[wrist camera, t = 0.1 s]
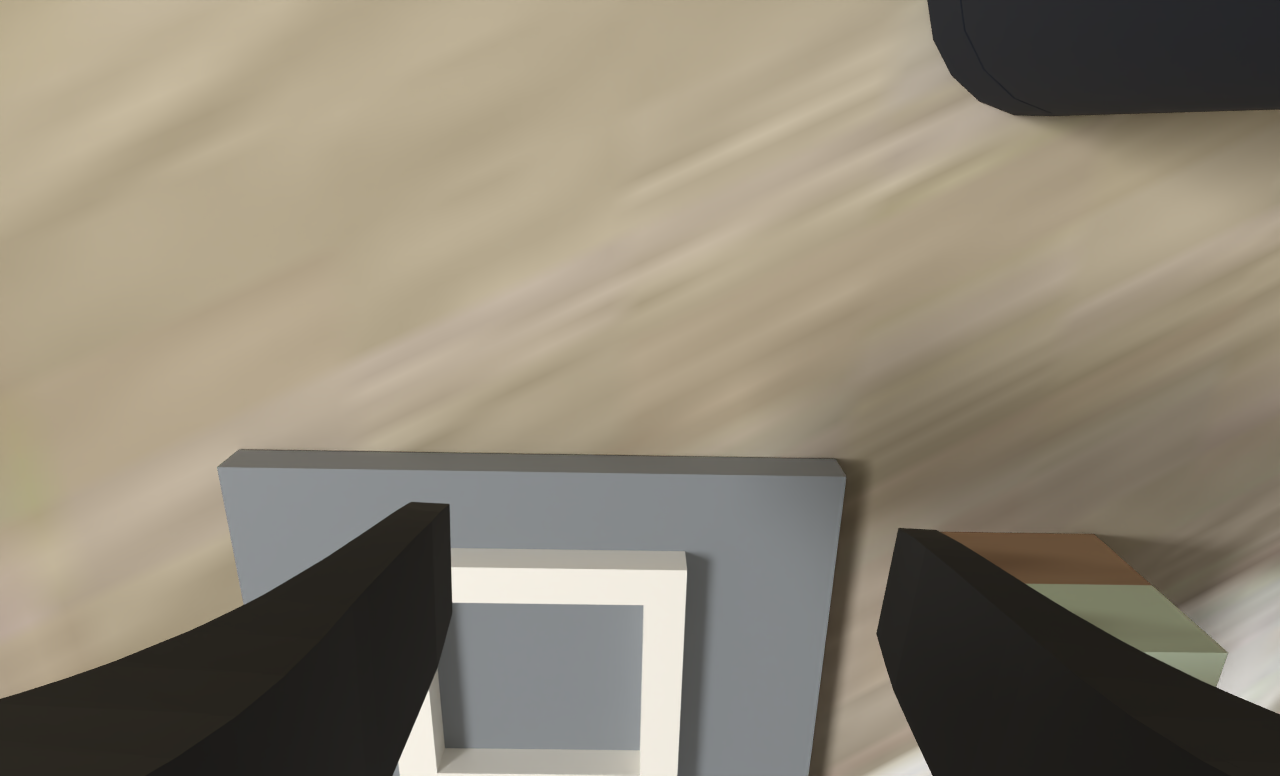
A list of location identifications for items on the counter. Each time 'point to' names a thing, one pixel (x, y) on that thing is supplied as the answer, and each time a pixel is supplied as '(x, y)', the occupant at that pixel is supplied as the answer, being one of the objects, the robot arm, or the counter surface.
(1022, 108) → the wine bottle
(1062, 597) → the block stack
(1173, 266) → the counter surface
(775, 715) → the pocket board
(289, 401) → the counter surface
